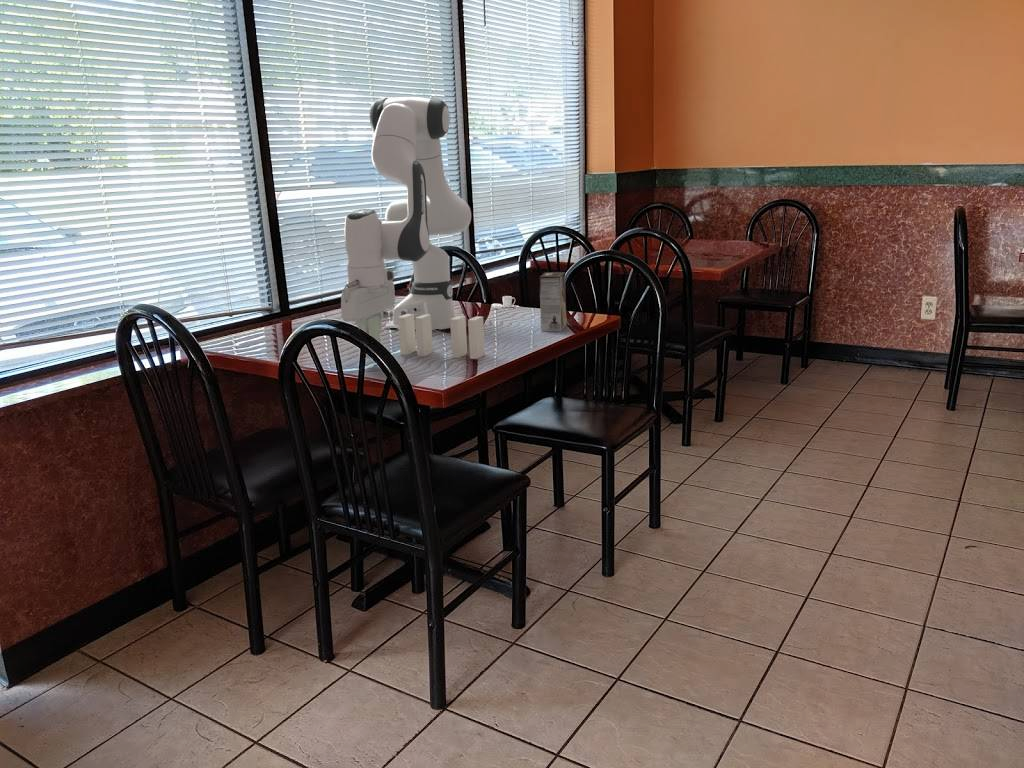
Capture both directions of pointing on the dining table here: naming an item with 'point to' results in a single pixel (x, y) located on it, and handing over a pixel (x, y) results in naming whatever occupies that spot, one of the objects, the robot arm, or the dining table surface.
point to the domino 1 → (373, 328)
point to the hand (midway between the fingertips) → (371, 332)
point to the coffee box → (553, 301)
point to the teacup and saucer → (505, 303)
